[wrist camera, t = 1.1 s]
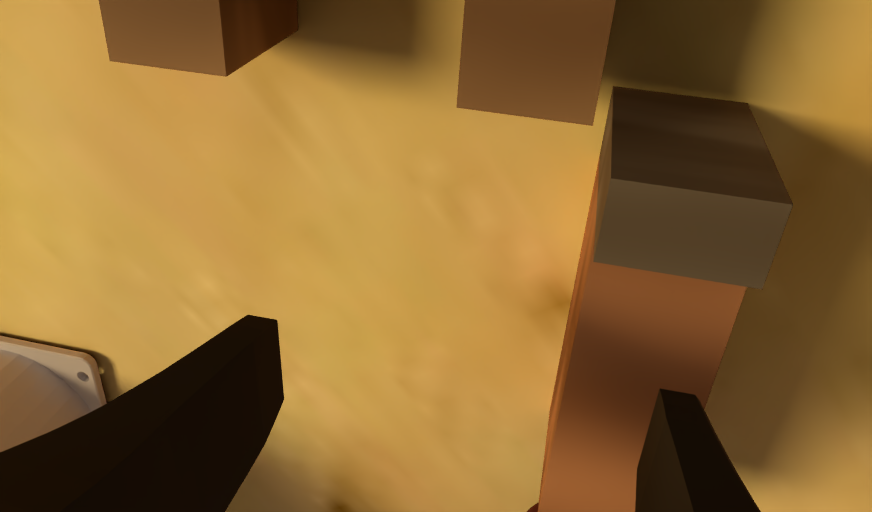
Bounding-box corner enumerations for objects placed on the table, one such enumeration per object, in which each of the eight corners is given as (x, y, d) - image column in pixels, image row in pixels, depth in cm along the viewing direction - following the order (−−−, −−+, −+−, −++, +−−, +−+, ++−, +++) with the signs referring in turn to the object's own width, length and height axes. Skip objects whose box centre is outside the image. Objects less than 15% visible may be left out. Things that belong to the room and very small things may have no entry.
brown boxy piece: (649, 429, 25) (656, 580, 20) (549, 410, 26) (532, 552, 21) (747, 102, 19) (793, 205, 14) (613, 86, 19) (610, 178, 14)
